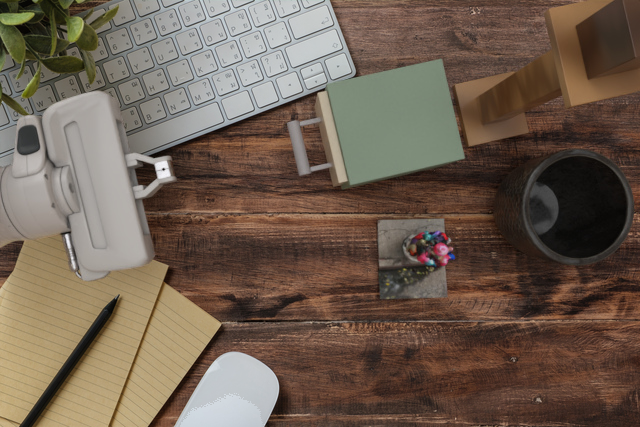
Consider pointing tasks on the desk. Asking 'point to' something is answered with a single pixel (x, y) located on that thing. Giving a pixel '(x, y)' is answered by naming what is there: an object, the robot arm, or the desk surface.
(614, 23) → the pencil box
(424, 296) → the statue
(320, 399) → the desk surface
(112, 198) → the robot arm
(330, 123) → the drawer
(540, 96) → the stand
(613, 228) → the planter
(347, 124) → the cabinet
